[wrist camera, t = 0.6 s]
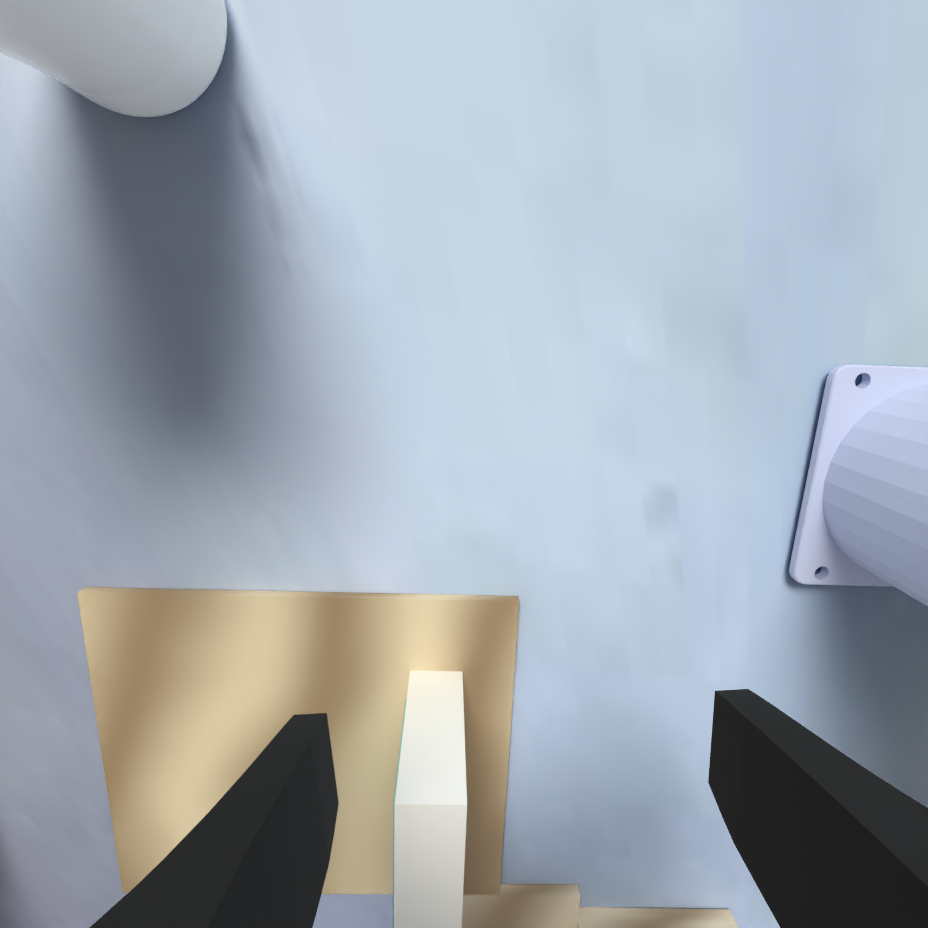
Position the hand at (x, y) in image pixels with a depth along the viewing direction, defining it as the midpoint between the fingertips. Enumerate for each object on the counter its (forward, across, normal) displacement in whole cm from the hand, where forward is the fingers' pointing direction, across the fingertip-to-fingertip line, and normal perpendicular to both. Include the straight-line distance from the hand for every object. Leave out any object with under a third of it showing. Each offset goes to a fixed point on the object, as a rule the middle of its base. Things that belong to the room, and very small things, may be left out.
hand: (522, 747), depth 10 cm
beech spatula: (+10, -4, +19) cm, 22 cm away
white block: (+10, +3, +9) cm, 14 cm away
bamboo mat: (+10, +8, +9) cm, 15 cm away
